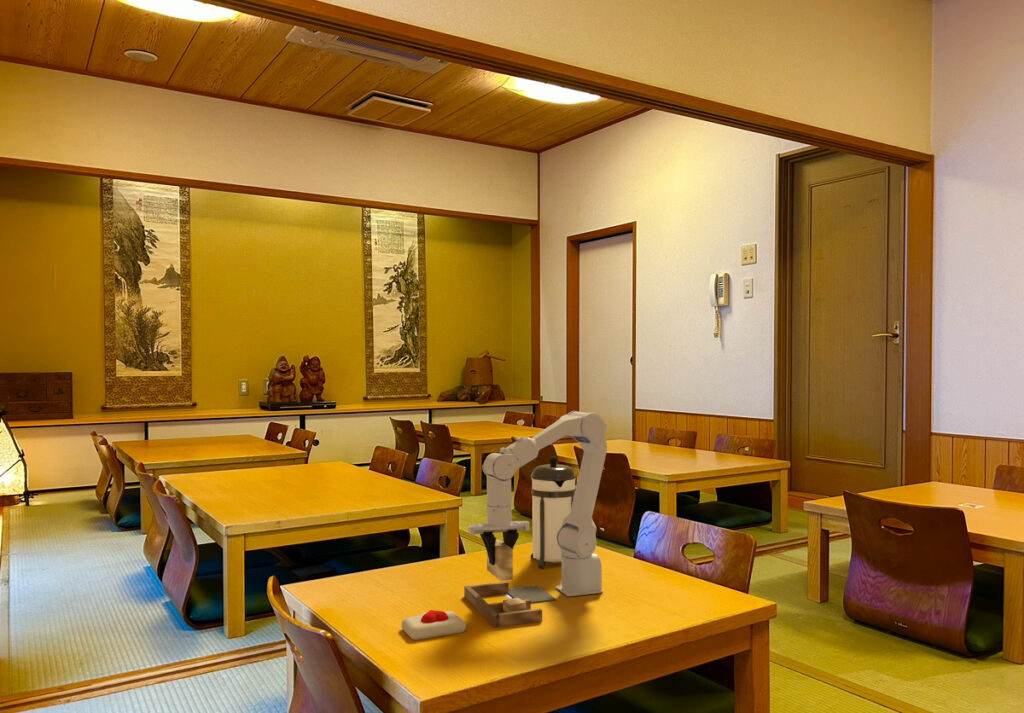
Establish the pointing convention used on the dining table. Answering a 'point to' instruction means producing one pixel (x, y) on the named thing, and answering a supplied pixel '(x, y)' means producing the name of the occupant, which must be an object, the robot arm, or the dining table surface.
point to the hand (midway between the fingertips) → (499, 563)
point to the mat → (531, 594)
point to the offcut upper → (514, 605)
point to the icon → (433, 624)
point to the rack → (499, 605)
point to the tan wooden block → (502, 562)
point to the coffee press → (550, 508)
